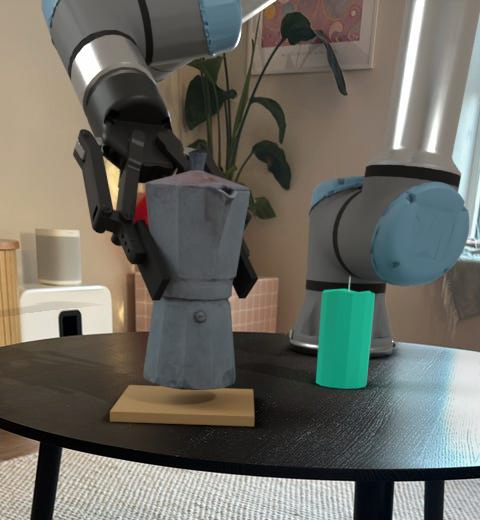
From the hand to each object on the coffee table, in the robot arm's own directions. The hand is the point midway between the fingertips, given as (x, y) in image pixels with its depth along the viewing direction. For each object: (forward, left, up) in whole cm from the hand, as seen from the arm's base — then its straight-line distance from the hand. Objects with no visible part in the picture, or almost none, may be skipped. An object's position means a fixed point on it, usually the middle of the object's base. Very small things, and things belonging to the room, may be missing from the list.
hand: (206, 289), depth 67 cm
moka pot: (+2, -3, -9) cm, 10 cm away
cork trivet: (+2, -3, -11) cm, 12 cm away
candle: (-15, -19, -12) cm, 27 cm away
